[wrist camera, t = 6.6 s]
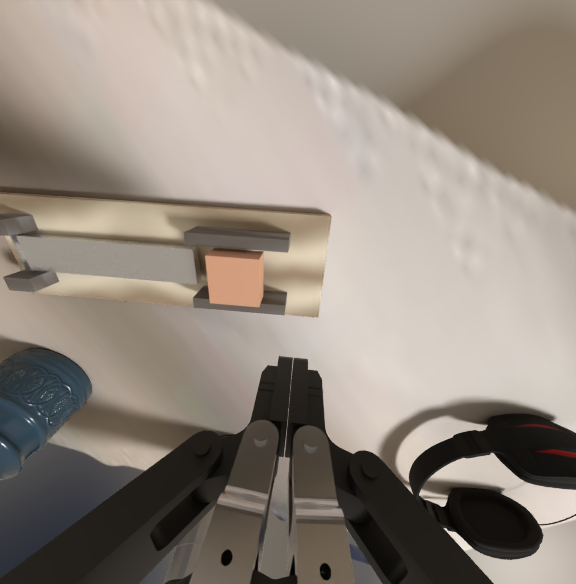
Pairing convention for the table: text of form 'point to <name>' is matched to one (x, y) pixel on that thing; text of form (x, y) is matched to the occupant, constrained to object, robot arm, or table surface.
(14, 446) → the canister
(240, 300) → the peach block
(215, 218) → the latch base
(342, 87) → the table surface
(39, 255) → the strap
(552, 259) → the table surface
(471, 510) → the headset
